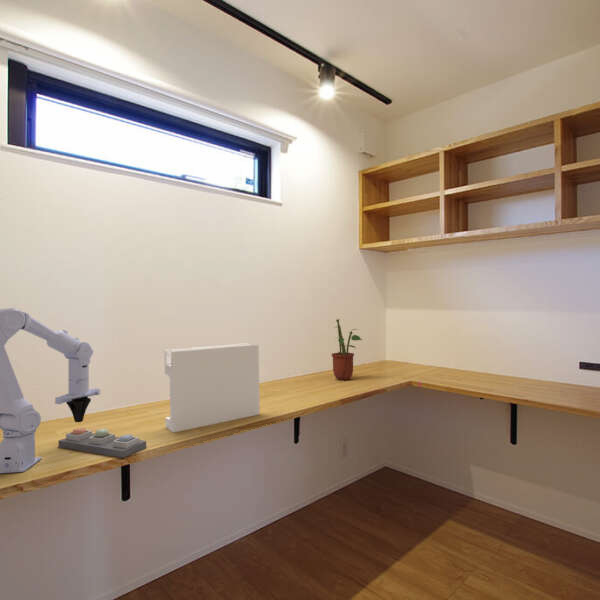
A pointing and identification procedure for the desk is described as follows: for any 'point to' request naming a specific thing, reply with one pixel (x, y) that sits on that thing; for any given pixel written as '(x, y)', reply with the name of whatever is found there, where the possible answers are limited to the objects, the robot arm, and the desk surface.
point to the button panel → (102, 444)
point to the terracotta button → (78, 431)
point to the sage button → (101, 432)
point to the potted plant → (343, 357)
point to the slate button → (126, 438)
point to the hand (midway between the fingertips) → (78, 421)
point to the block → (212, 385)
